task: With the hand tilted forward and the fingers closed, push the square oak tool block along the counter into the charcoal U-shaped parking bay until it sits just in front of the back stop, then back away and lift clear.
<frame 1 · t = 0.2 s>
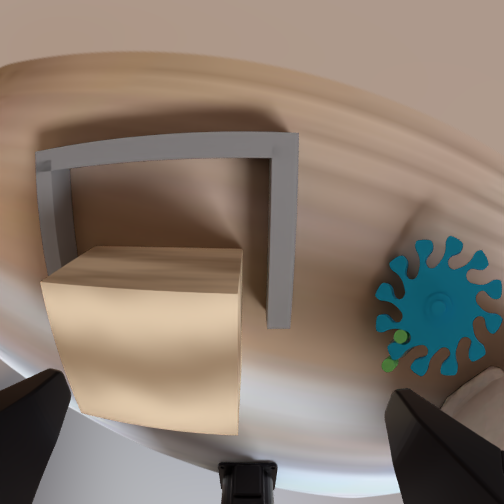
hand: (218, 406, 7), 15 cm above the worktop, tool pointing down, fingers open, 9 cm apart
parking bay: (161, 233, 21), on the worktop
ceramic pitcher: (463, 406, 27), on the worktop
oak tool block: (169, 310, 23), on the worktop
gear: (411, 291, 22), on the worktop
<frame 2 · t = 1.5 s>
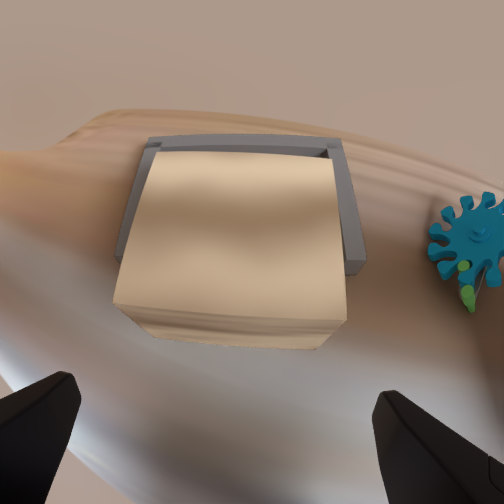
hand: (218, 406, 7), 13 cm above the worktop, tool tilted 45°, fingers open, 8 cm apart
parking bay: (241, 208, 25), on the worktop
oak tool block: (239, 278, 22), on the worktop
gear: (455, 263, 23), on the worktop
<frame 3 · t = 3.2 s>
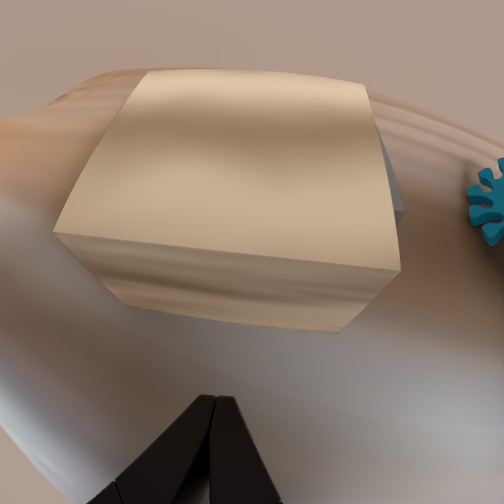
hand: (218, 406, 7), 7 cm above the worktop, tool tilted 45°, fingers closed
parking bay: (245, 157, 20), on the worktop
oak tool block: (241, 236, 17), on the worktop
gear: (497, 232, 18), on the worktop
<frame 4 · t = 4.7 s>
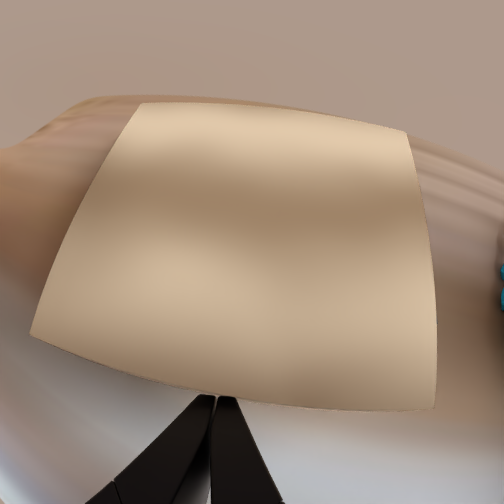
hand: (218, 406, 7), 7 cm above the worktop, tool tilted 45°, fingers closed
oak tool block: (250, 299, 15), on the worktop, touching gripper
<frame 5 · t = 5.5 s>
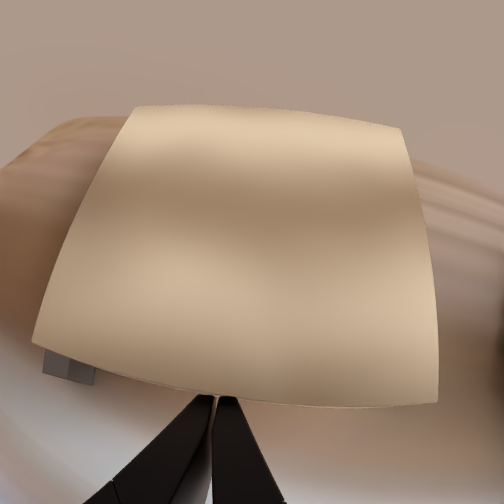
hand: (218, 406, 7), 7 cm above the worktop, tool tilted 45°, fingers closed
parking bay: (241, 288, 15), on the worktop
oak tool block: (250, 299, 15), on the worktop, touching gripper, parking bay
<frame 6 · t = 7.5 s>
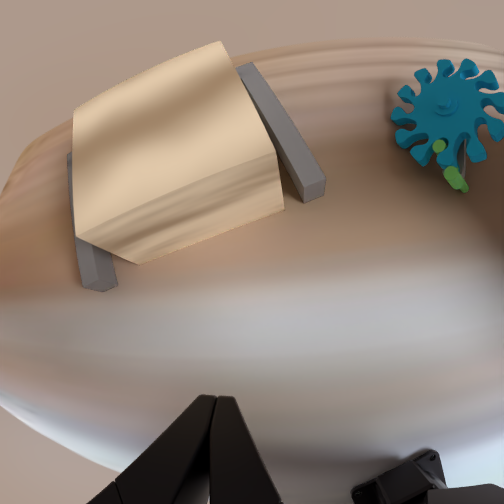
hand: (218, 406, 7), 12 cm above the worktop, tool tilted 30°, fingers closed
parking bay: (181, 178, 22), on the worktop
oak tool block: (191, 179, 23), on the worktop
gear: (432, 143, 20), on the worktop
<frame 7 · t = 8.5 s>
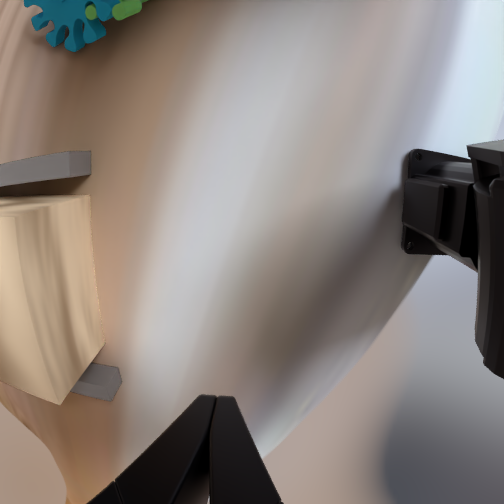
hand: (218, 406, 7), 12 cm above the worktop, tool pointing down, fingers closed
parking bay: (40, 277, 19), on the worktop
oak tool block: (43, 268, 19), on the worktop
gear: (97, 9, 14), on the worktop
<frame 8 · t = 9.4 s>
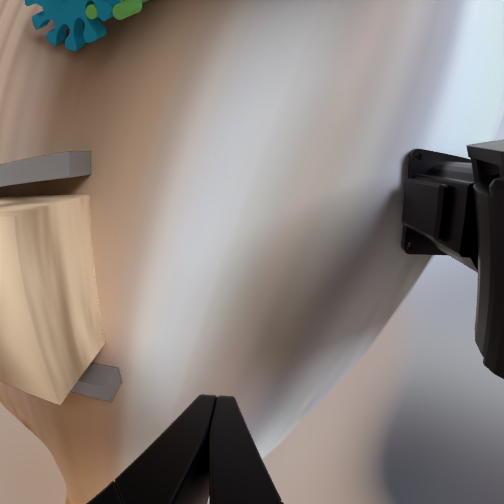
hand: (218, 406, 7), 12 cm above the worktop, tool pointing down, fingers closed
parking bay: (40, 277, 19), on the worktop
oak tool block: (43, 268, 19), on the worktop
gear: (98, 8, 14), on the worktop
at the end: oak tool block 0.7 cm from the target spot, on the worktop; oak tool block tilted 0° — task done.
